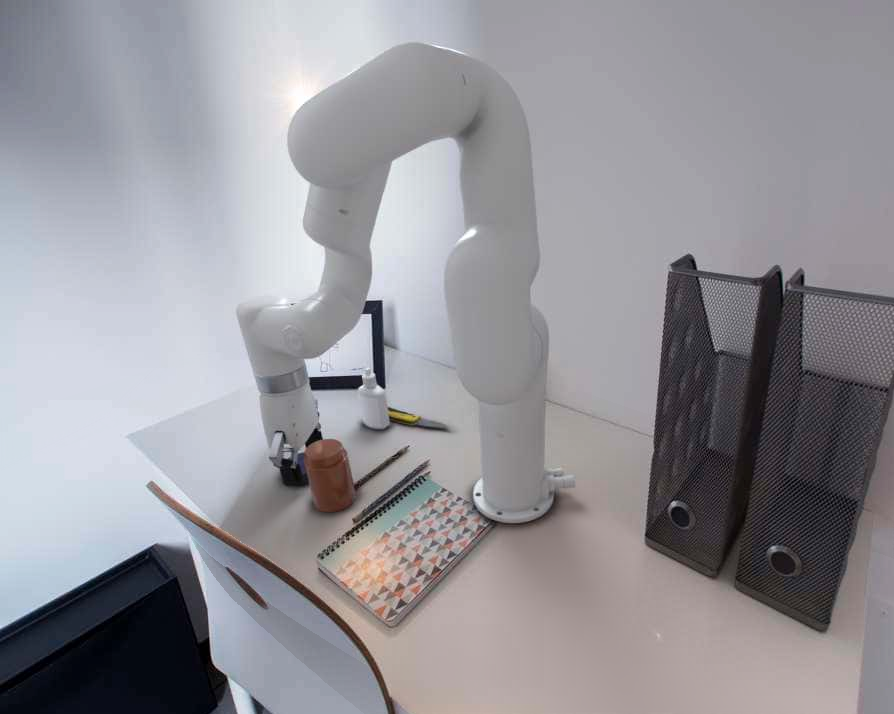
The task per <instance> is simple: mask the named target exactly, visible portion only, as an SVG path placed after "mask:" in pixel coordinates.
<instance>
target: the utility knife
mask: <svg viewBox="0 0 894 714" xmlns="http://www.w3.org/2000/svg"><path fill="white" fill-rule="evenodd" d="M387 407H388V414H389V420H391V421H393V422H396V423H399V424H403V425H404V424H406V425H409V426H417V427H419V426H421V427H425V428H437V429H439V428H440V429H441V428H442V429H450V426H448V425H446V424H445V423H442V422H439V421H436V420H431V419H427V418H422V417H421V416H419V415H416V414H412V413H408V412H407V411H403V410H398V409H395V408H393V407H390V406H387Z"/></svg>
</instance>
